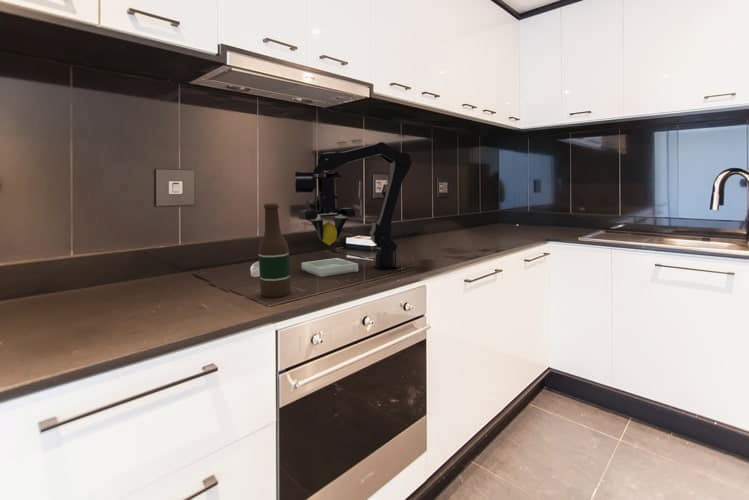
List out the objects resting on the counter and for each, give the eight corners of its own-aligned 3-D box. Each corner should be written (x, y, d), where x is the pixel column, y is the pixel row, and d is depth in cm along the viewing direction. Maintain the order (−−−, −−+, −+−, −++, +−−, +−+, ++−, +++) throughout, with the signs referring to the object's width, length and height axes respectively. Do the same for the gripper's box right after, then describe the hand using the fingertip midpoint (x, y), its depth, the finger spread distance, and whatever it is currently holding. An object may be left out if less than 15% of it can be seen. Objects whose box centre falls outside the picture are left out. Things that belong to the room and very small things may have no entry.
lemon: (338, 244, 139) (337, 220, 138) (335, 246, 133) (334, 222, 132) (322, 244, 139) (321, 221, 138) (319, 246, 134) (318, 222, 133)
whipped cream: (276, 277, 132) (277, 263, 132) (258, 279, 128) (259, 264, 127) (263, 272, 138) (264, 258, 137) (245, 274, 133) (246, 259, 132)
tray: (337, 264, 147) (337, 258, 147) (358, 271, 136) (358, 263, 136) (301, 269, 139) (301, 262, 139) (320, 276, 128) (320, 269, 128)
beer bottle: (276, 299, 103) (270, 204, 99) (254, 295, 107) (248, 204, 104) (297, 292, 110) (292, 202, 106) (276, 288, 114) (271, 202, 110)
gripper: (339, 191, 145) (341, 235, 148) (290, 193, 135) (293, 239, 137) (356, 191, 136) (357, 237, 139) (305, 193, 126) (307, 243, 128)
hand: (329, 239), depth 136 cm, fingers closed on lemon, 5 cm apart
